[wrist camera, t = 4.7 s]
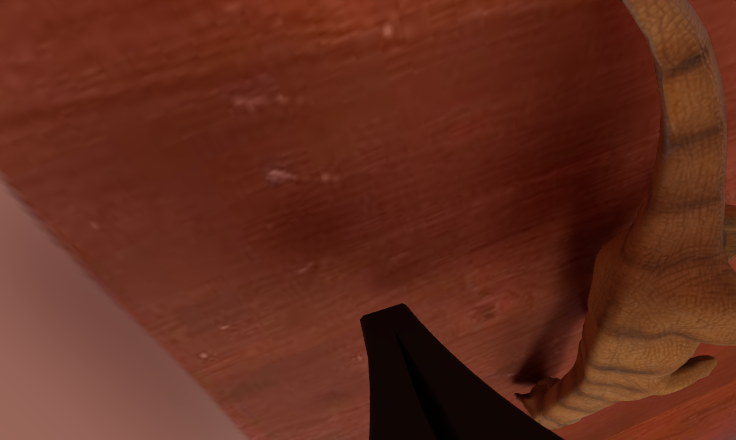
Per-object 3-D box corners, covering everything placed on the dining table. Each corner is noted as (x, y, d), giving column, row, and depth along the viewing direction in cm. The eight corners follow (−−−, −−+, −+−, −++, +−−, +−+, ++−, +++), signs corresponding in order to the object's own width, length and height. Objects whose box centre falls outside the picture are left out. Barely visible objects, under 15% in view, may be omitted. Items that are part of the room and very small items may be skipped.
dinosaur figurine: (648, 344, 22) (459, 414, 20) (893, -229, 9) (441, -161, 8) (785, 468, 16) (539, 577, 15) (1877, -554, 4) (960, -555, 2)
